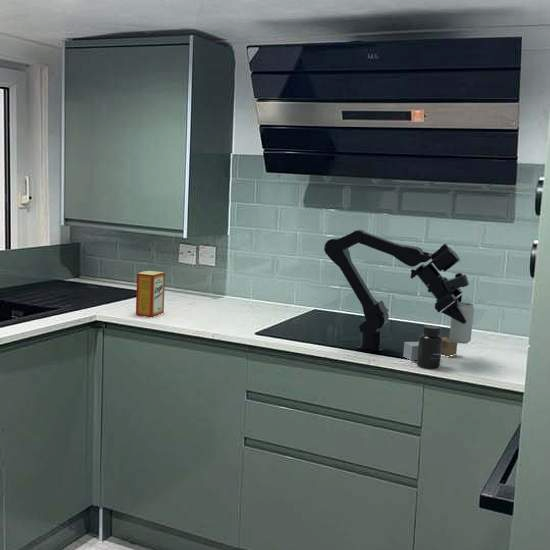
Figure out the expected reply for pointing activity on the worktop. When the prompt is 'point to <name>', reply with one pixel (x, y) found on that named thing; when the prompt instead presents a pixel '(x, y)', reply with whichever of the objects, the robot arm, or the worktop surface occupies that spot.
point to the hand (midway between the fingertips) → (466, 321)
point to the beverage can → (460, 330)
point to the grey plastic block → (411, 350)
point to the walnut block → (448, 347)
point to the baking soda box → (150, 293)
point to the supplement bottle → (429, 348)
